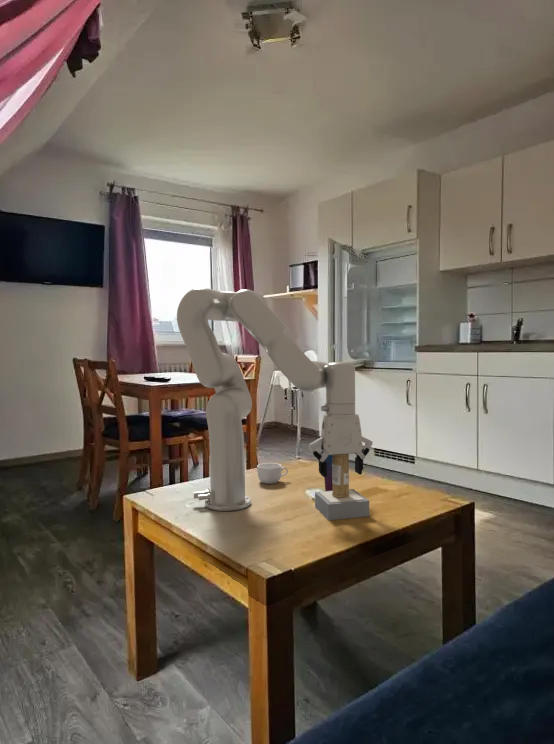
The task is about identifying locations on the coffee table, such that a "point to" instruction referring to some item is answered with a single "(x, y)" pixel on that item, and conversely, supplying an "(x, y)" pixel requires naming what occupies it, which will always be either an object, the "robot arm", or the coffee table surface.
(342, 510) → the base
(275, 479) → the teacup
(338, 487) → the sprinkles bottle
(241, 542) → the coffee table surface
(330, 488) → the cup
